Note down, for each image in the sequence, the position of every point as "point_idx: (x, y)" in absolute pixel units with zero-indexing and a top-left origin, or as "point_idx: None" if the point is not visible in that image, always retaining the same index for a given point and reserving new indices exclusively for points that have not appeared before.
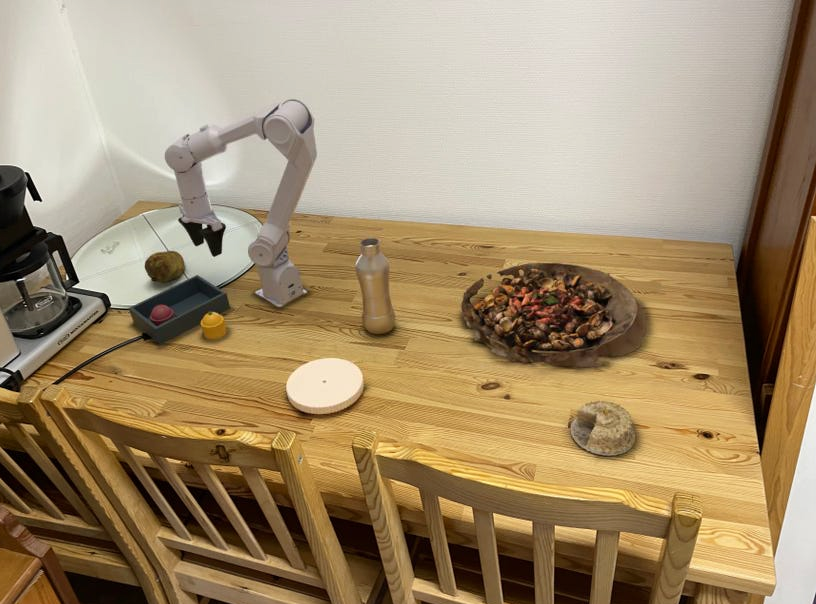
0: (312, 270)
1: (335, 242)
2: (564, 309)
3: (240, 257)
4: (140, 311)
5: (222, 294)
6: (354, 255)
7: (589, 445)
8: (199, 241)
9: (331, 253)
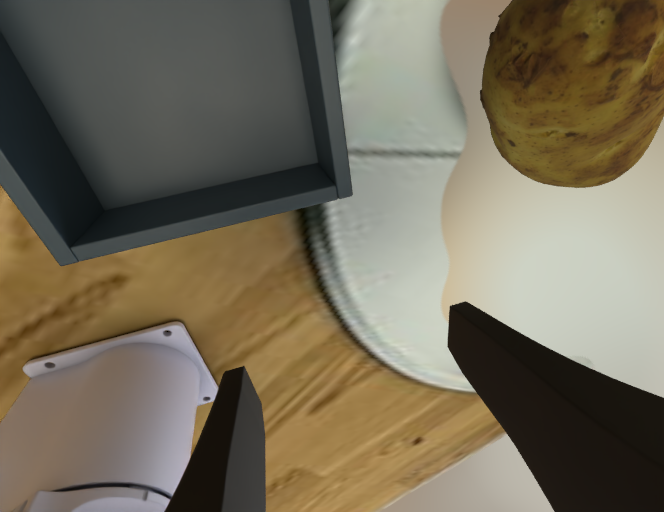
0: None
1: (315, 486)
2: None
3: (429, 327)
4: None
5: (50, 246)
6: None
7: None
8: (462, 345)
9: (275, 479)
